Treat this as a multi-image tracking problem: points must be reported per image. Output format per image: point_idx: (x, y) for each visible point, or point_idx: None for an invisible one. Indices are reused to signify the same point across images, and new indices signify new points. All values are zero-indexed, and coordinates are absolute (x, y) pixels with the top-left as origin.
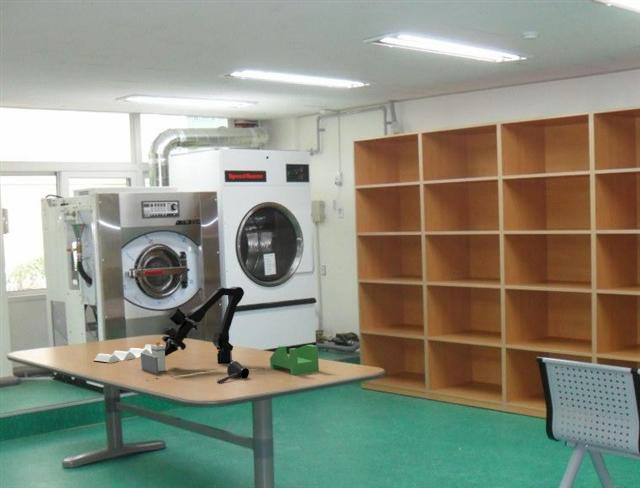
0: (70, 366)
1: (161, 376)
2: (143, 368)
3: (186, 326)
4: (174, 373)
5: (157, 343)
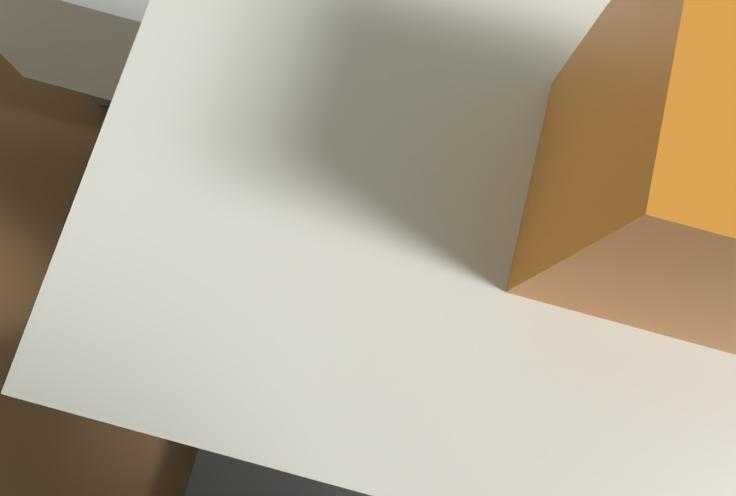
0: None
1: (15, 105)
2: None
3: None
4: (8, 413)
5: (606, 40)
